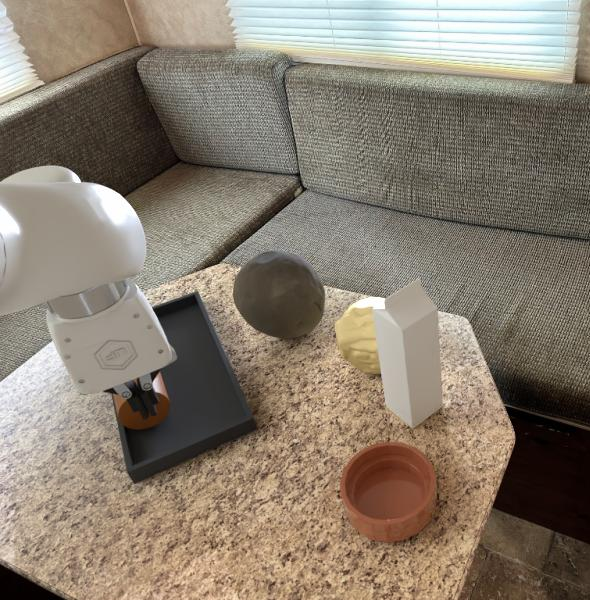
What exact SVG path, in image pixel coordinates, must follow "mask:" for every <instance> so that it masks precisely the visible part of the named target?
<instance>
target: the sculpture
mask: <svg viewBox="0 0 590 600" xmlns="http://www.w3.org/2000/svg"><path fill="white" fill-rule="evenodd" d="M385 299H386V297H385V298H384V297H380V296H379V297H375V296H372V297H367V298H362V299H360V300H357V301H356V302H354V303H352V304H351V305H350V306H349V307H348V308H347V309H346V310H345V312H343V314H342V316H341V318H339V319H338V320H337V321H336V322H335V323H334V333H335V336H336V344H337V348H338V350H339V354H340V357H341V358H342V360H345V361H347V362H348V364H350V365H351V366H352V367H353V368H356V369H357V370H358V371H361V372H364V373H365V374H373V375H379V374H380V375H381V368H380V362H379V355H378V348H377V341H376V334H375V327H374V320H373V313H372V309H373V308H374V307H376V306H378V305H379V304H381V303H382V302H384V300H385Z"/></svg>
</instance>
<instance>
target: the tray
mask: <svg viewBox="0 0 590 600" xmlns="http://www.w3.org/2000/svg"><path fill="white" fill-rule="evenodd" d="M151 307H152V309H153V311H154V313H155V315H156V316H157V318H158V320H159V322H160V324H161V326H162V328H163V330H164V333H165V336H166V338H167V340H168V343H169V344H170V345H171V346H172V347H173V349H174V350H175V352H176V355H177V359H176V360H175V361H174V362H172V363H170V364H169V365H167V366H165V367H162V368H161V370H160V373H161V376H162V379H163V383H164V386H165V389H166V392H167V395H168V398H169V401H170V411H169V413H168V415H167V416H166V418H165V419H164V420H163V421H161V422H160V423H159V424H157V425H155V426H153V427H150V428H147V429H139V430H137V429H130V428H127V427H125V426H124V425H123V424H121V422H120V421H119V419H118V415H117V410H116V406H115V401H114V397H113V394H112V393H110V395H111V400H112V404H113V410H114V416H115V419H116V424H117V430H118V435H119V439H120V445H121V450H122V455H123V460H124V465H125V469H126V474H127V475H128V477H129V478H130V480H131V482H132V483H133V485H135V484H137V483H139V482H142V481H145V480H146V479H149V478H151V477H154V476H156V475H159V474H160V473H162V472H164V471H167V470H169V469H171V468H174V467H176V466H178V465H180V464H183V463H185V462H188V461H189V460H192V459H195V458H196V457H199V456H201V455H203V454H205V453H208V452H210V451H213V450H215V449H217V448H219V447H221V446H224V445H226V444H228V443H231V442H233V441H236V440H237V439H240V438H242V437H244V436H246V435H249V434H251V433H253V432H256V431H258V430H259V426H258V425H257V422H256V419H255V416H254V414H253V411H252V410H251V408H250V405H249V403H248V400H247V398H246V396H245V394H244V391H243V390H242V387H241V385H240V382H239V380H238V378H237V376H236V373H235V371H234V369H233V366H232V364H231V362H230V360H229V357H228V356H227V352H226V351H225V348H224V346H223V344H222V342H221V339H220V337H219V335H218V333H217V331H216V328H215V326H214V323H213V322H212V319H211V317H210V314H209V312H208V310H207V308H206V305H205V304H204V301H203V299H202V297H201V294H200V292H199V290H195V291H193V292H190V293H187V294H184V295H182V296H179V297H176V298H173V299H170V300H168V301H165V302H162V303H159V304H156V305H153V306H151Z"/></svg>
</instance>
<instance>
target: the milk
mask: <svg viewBox="0 0 590 600" xmlns="http://www.w3.org/2000/svg"><path fill="white" fill-rule="evenodd" d="M372 313H373V320H374V327H375V334H376V341H377V348H378V355H379V362H380V368H381V373H380V375H381V382H382V388H383V389H382V390H383V395H384V403H385V407H386V408H387V409H389V411H391V412H392V414H394V415H395V416H397V418H399V419H400V420H401V421H402V422H404V423H405V424H406V425H407V426H408V427H409V428H410V429H412V430H414V429H415V428H416V427H418V426H419V425H420V424H422V423H423V422H424V421H426V420H427V419H429V418H430V417H432V415H434V414H435V413H436V412H438V411H439V410H441V408H443V406H444V400H443V384H442V365H441V348H440V346H441V345H440V330H439V329H440V328H439V311H438V306H437V304H435V303H434V302H433V300H432V299H431V297H430V296H429V295H428V294H427V293H426V291H425V290H424V289H423V287H422V280H421V278H417V279H415V280H414V281H412V282H411V283H409V284H407V285H405V286H404V287H402V288H401V289H399V290H397V291H395V292H393V293H392V294H391V295H389V296H387V297H385V300H384V302H382V303H381V304H379V305H378V306H376V307H374V308H373V309H372Z"/></svg>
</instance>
